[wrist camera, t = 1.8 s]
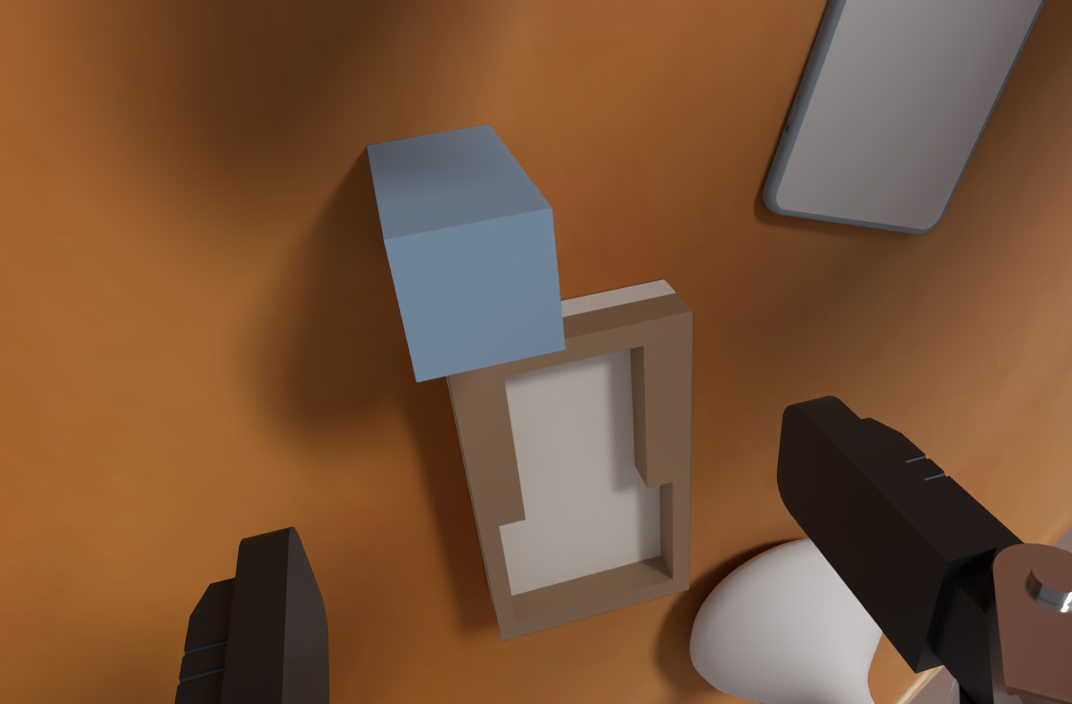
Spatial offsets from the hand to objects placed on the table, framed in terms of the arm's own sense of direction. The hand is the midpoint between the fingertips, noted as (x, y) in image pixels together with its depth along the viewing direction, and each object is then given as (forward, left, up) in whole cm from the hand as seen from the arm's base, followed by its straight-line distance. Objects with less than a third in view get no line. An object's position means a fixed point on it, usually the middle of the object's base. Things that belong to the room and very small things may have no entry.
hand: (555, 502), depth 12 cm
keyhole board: (-4, +13, -16) cm, 20 cm away
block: (0, 0, -16) cm, 16 cm away
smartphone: (-18, -3, -16) cm, 24 cm away
